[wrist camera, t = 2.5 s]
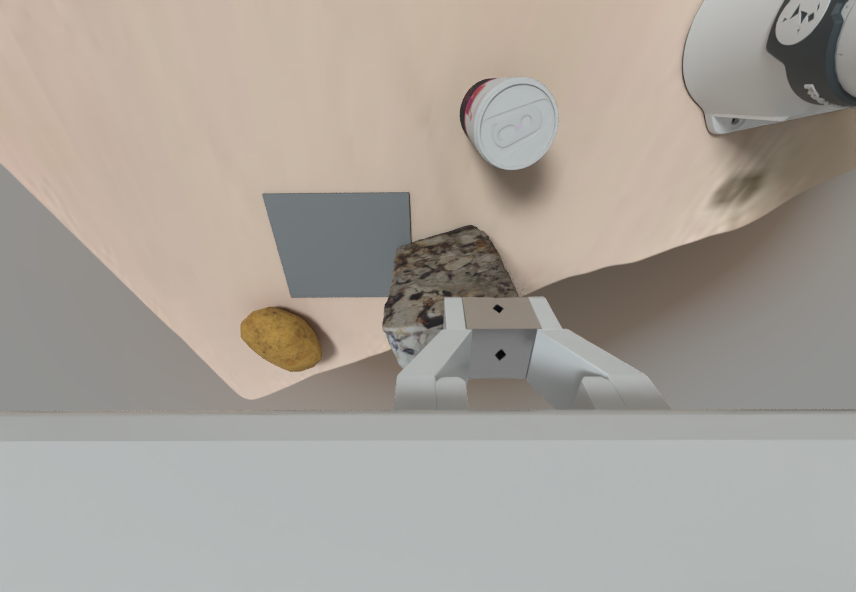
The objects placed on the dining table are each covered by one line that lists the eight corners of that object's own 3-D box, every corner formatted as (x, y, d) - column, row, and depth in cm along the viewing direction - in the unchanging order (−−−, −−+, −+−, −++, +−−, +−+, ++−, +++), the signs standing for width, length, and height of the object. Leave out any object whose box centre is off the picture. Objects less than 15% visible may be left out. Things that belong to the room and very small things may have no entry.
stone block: (409, 283, 50) (406, 385, 33) (389, 244, 46) (376, 336, 30) (493, 253, 48) (536, 346, 31) (480, 209, 44) (520, 288, 27)
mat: (408, 192, 43) (408, 193, 43) (413, 295, 52) (412, 296, 51) (263, 193, 43) (262, 194, 43) (292, 296, 52) (291, 297, 51)
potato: (279, 285, 51) (259, 312, 45) (338, 336, 56) (328, 365, 51) (242, 315, 54) (220, 343, 48) (302, 360, 59) (289, 390, 54)
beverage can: (450, 98, 37) (461, 106, 25) (505, 65, 36) (547, 57, 23) (472, 153, 40) (492, 186, 28) (524, 126, 39) (570, 148, 26)
